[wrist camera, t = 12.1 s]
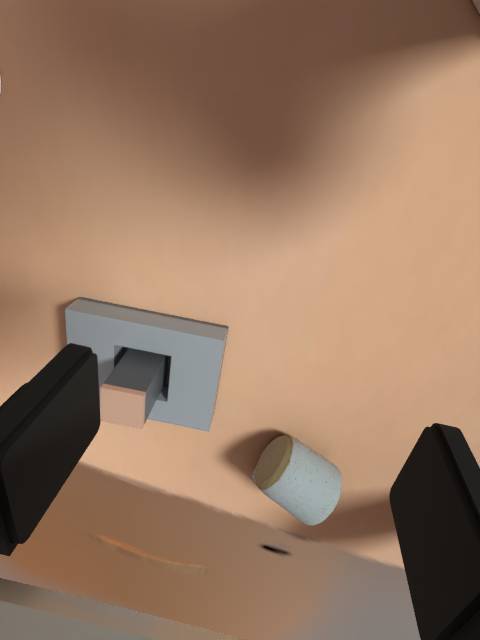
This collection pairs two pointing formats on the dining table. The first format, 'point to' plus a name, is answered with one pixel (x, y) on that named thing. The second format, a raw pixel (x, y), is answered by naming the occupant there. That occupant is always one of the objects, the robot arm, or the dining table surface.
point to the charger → (133, 388)
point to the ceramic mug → (298, 479)
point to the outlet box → (158, 337)
